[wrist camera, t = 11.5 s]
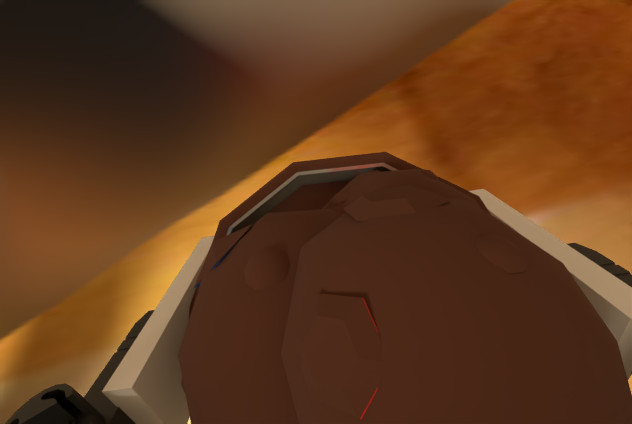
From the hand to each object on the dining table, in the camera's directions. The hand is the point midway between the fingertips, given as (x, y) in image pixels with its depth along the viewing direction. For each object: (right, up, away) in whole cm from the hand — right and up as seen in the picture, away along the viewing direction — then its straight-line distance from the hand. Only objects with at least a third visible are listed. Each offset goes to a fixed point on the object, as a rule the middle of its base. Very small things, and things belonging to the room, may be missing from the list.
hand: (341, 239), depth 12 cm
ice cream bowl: (+1, -4, +5) cm, 7 cm away
